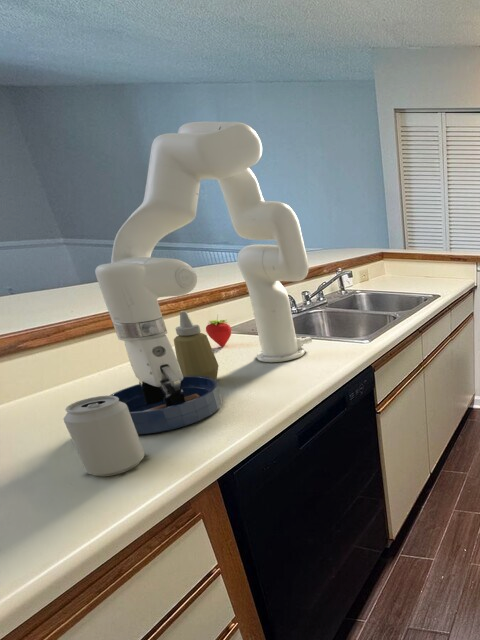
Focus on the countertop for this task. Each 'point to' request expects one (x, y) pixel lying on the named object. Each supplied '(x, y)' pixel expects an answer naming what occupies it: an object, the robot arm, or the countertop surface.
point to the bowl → (173, 414)
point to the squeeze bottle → (194, 350)
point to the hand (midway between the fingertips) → (167, 407)
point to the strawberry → (219, 331)
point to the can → (104, 435)
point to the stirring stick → (187, 398)
